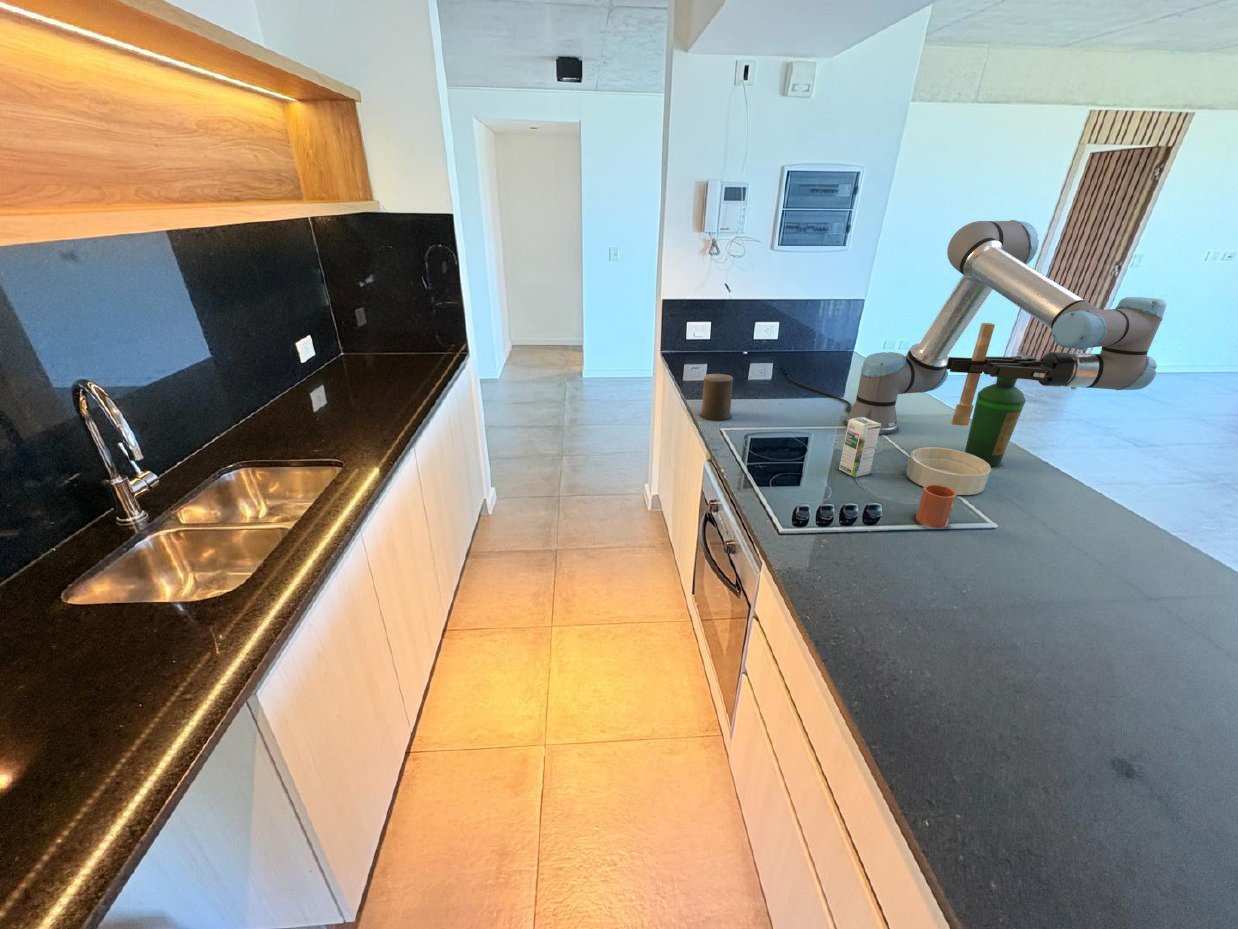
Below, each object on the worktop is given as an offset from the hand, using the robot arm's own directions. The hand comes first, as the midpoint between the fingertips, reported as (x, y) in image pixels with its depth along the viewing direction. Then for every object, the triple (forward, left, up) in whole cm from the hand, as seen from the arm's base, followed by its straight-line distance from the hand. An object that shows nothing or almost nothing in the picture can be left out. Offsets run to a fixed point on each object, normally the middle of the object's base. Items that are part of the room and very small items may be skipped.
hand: (950, 364), depth 123 cm
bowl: (+1, +6, -31) cm, 31 cm away
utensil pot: (+18, -12, -31) cm, 37 cm away
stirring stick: (+2, +5, -14) cm, 16 cm away
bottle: (-8, +26, -31) cm, 41 cm away
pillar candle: (-59, -32, -31) cm, 74 cm away
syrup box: (-9, -13, -31) cm, 35 cm away
